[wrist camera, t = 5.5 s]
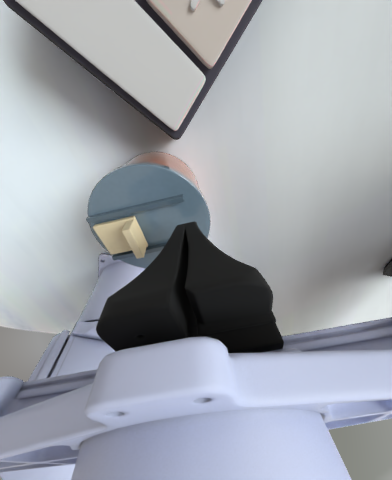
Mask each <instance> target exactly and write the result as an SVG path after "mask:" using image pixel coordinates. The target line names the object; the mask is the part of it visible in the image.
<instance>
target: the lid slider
mask: <svg viewBox="0 0 392 480" xmlns="http://www.w3.org/2000/svg"><path fill="white" fill-rule="evenodd" d="M93 229H94V230H95V232H96V233H97V235H98V236H99V238H100V239H101V241H102V242H103V244H104V245H105V247H106V248H107V250H108V251H109V253H110V254H111V255H112V254H117V253H121V252H126V251H131V250H132V251H133V253H134V255H135V256H136V258H137V259H138V258H143V257H144V255H145V251H146V247H148V243H147V241H146V239H145V237H144V235H143V232H142V230H141V228H140V226H139V224H138V222H137V220H136V218H135V216H130V217H126V218H122V219H117V220H113V221H108V222H104V223H99V224H95V225H94V226H93Z"/></svg>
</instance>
